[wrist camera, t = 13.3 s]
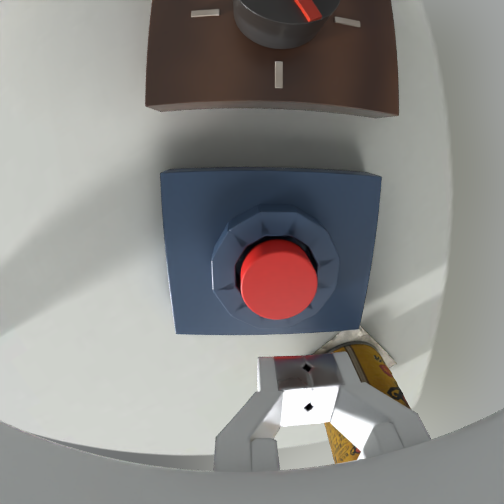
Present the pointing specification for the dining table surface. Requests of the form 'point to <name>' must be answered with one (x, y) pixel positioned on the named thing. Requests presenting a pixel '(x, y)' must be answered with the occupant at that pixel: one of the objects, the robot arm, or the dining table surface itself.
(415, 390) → the dining table surface
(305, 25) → the dial
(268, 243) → the button
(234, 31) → the dial panel
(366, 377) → the condiment
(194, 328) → the button housing
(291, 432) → the dining table surface
